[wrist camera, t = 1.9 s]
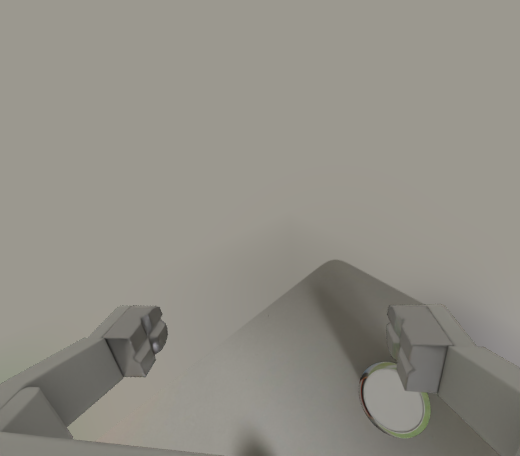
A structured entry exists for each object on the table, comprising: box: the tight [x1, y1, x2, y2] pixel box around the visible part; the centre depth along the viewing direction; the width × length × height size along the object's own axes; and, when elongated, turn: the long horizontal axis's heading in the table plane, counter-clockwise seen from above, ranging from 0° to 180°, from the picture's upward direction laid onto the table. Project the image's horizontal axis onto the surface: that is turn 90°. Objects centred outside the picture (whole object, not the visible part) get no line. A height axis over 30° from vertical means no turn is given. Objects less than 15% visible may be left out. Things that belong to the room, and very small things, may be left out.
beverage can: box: [359, 362, 431, 438], centre depth 27 cm, size 6×7×12 cm
